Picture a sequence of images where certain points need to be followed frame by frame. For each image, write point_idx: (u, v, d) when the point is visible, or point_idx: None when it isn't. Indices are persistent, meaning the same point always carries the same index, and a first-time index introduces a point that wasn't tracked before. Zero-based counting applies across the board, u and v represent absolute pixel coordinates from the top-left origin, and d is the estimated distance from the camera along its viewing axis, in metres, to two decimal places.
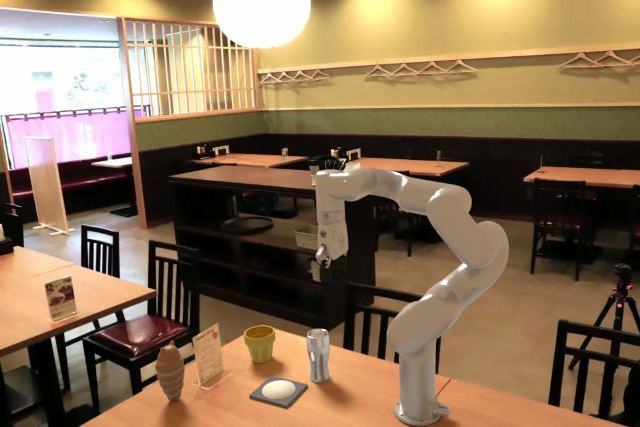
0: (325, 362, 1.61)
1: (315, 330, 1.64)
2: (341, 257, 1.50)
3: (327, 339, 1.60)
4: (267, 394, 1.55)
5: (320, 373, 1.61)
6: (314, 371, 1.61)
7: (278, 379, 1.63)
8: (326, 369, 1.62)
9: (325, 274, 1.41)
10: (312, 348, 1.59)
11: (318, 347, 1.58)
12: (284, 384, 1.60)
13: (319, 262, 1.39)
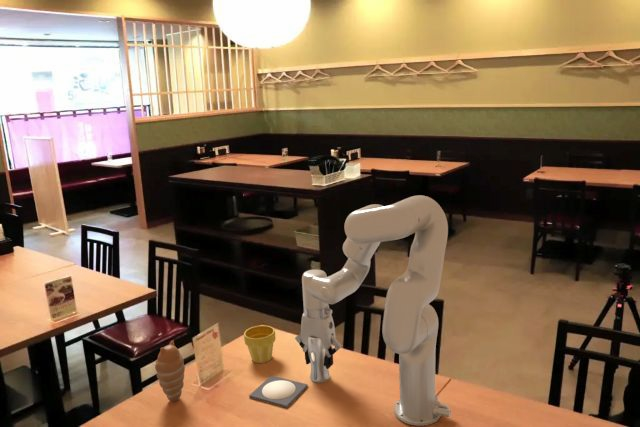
0: (325, 362, 1.61)
1: None
2: None
3: None
4: (267, 394, 1.55)
5: (320, 373, 1.61)
6: (314, 371, 1.61)
7: (278, 379, 1.63)
8: (326, 369, 1.62)
9: (332, 359, 1.61)
10: (312, 348, 1.59)
11: (318, 347, 1.58)
12: (284, 384, 1.60)
13: (337, 350, 1.59)
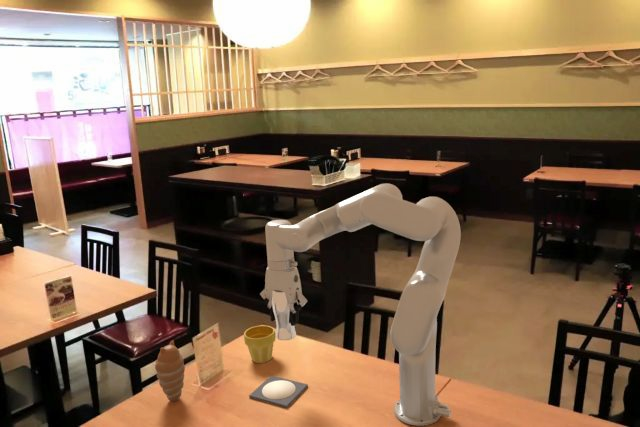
0: None
1: None
2: None
3: None
4: (267, 394, 1.55)
5: (285, 330, 1.52)
6: (279, 328, 1.53)
7: (278, 379, 1.63)
8: (292, 326, 1.53)
9: (298, 316, 1.52)
10: (277, 303, 1.50)
11: (283, 302, 1.49)
12: (284, 384, 1.60)
13: (302, 306, 1.50)
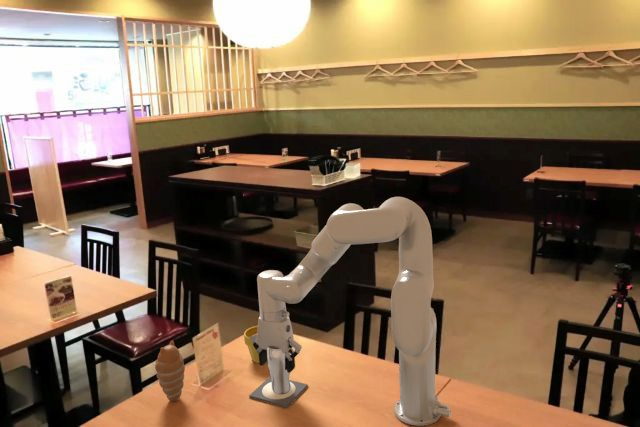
0: (286, 374, 1.53)
1: None
2: (264, 352, 1.57)
3: None
4: (267, 394, 1.55)
5: (280, 386, 1.54)
6: (274, 383, 1.54)
7: None
8: (287, 381, 1.55)
9: (294, 363, 1.53)
10: (272, 359, 1.51)
11: (278, 358, 1.51)
12: None
13: (298, 353, 1.50)
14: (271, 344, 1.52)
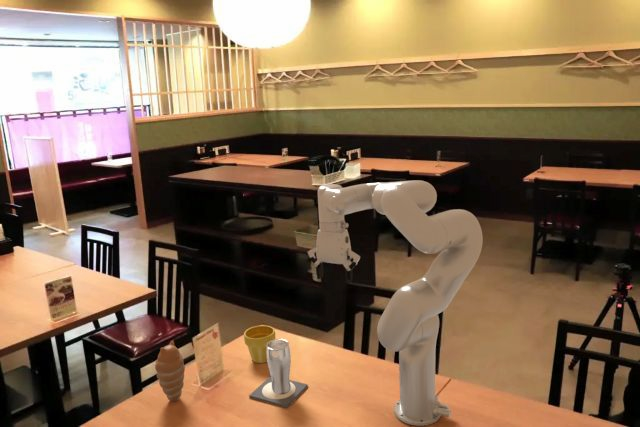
0: (286, 374, 1.53)
1: (276, 340, 1.56)
2: (321, 265, 1.63)
3: (287, 350, 1.52)
4: (267, 394, 1.55)
5: (280, 386, 1.54)
6: (274, 383, 1.54)
7: None
8: (287, 381, 1.55)
9: (352, 274, 1.59)
10: (272, 359, 1.51)
11: (277, 359, 1.51)
12: None
13: (356, 263, 1.57)
14: (330, 256, 1.58)
